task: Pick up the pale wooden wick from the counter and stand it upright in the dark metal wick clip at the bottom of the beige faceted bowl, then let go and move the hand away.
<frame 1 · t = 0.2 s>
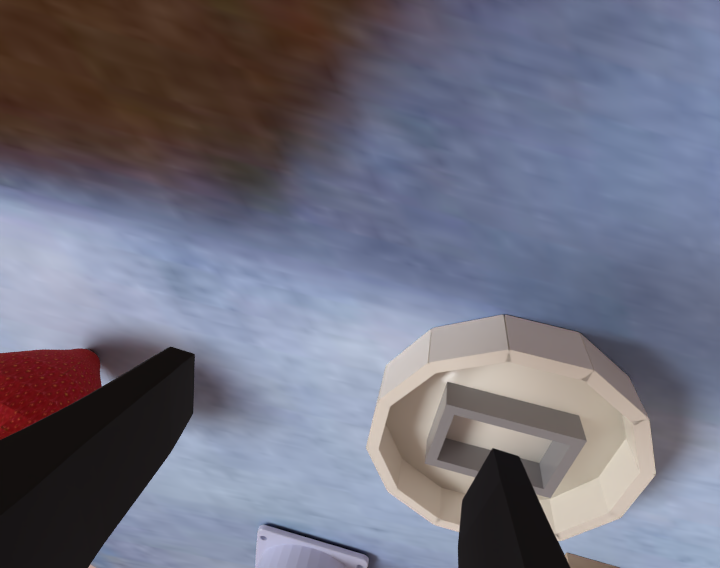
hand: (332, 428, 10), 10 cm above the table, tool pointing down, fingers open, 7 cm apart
beige faceted bowl: (497, 419, 22), on the table
strawberry: (93, 349, 26), on the table
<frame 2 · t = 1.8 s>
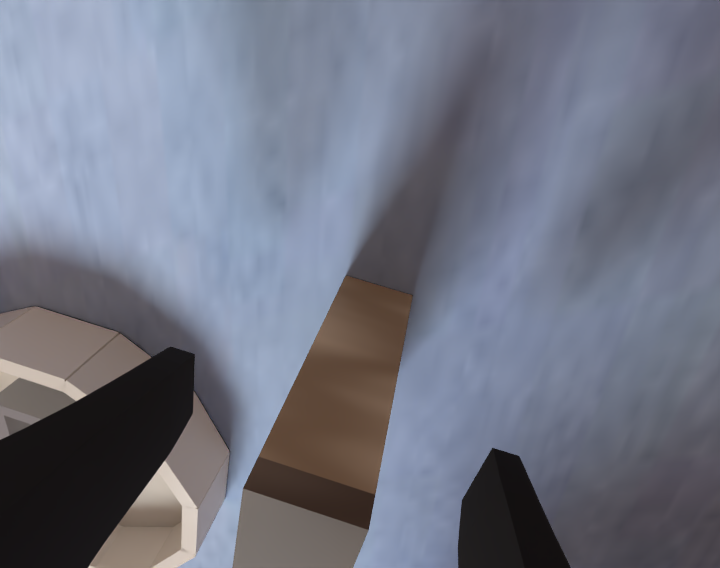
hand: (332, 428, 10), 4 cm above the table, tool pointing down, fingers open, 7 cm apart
wick: (363, 338, 14), on the table
beige faceted bowl: (93, 431, 19), on the table
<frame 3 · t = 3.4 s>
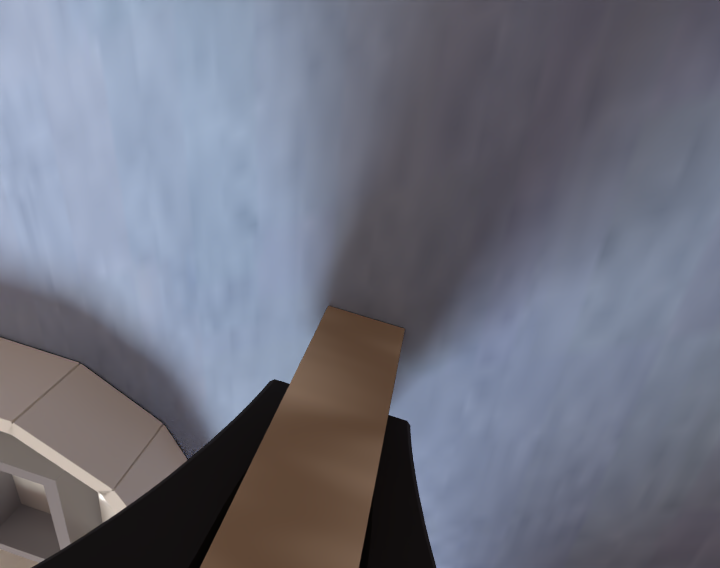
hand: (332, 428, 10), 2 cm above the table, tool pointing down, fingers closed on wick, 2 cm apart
wick: (350, 374, 12), on the table, touching gripper
beige faceted bowl: (59, 465, 17), on the table
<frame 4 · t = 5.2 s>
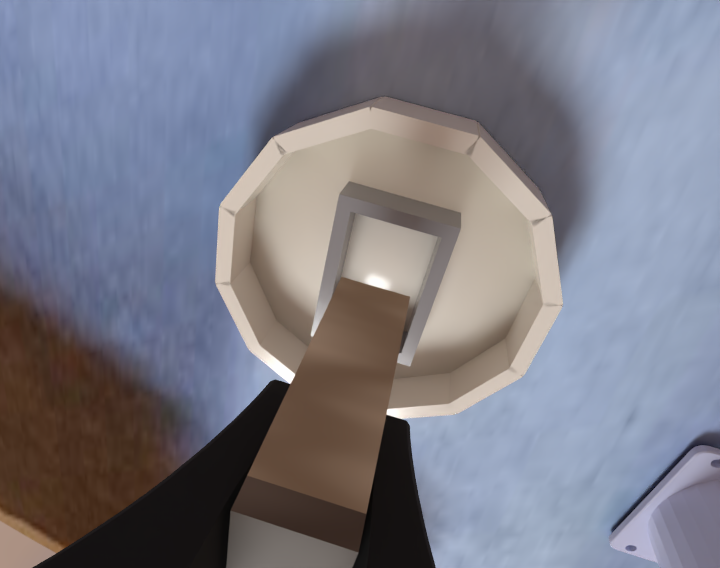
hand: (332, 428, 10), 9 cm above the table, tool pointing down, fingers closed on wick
wick: (361, 339, 14), point 5 cm above the table, touching gripper
beige faceted bowl: (386, 262, 18), on the table
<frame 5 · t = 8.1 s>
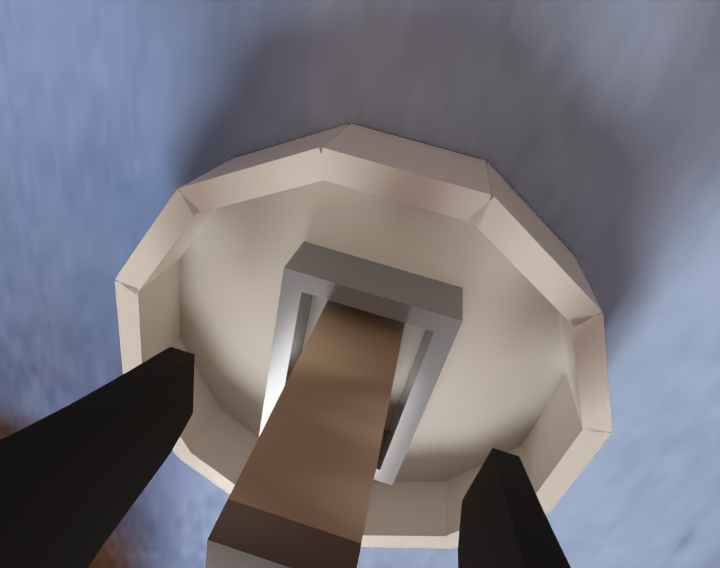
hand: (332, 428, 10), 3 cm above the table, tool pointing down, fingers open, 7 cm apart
wick: (356, 350, 13), point 1 cm above the table, touching beige faceted bowl
beige faceted bowl: (360, 342, 13), on the table
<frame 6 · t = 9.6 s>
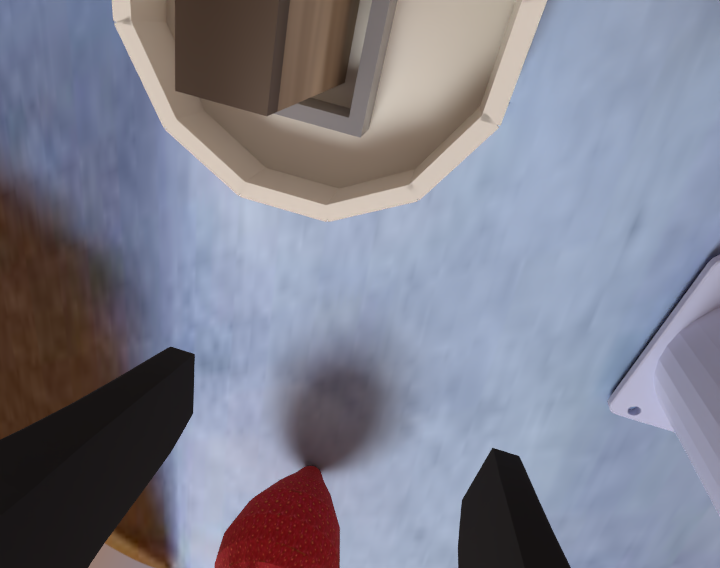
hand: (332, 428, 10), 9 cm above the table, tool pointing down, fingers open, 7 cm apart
wick: (327, 7, 14), point 1 cm above the table, touching beige faceted bowl
beige faceted bowl: (332, 13, 15), on the table
strawberry: (311, 465, 27), on the table
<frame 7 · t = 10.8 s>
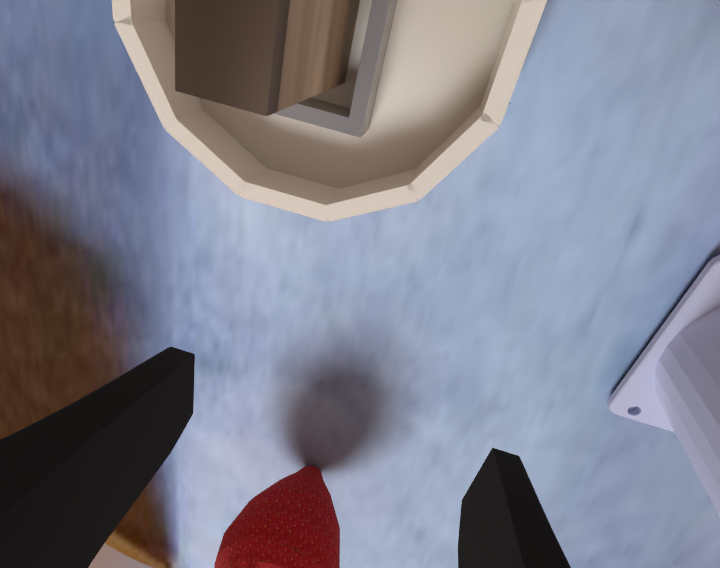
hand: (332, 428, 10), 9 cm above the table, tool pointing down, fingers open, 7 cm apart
wick: (327, 7, 14), point 1 cm above the table, touching beige faceted bowl
beige faceted bowl: (332, 13, 15), on the table
strawberry: (311, 465, 27), on the table
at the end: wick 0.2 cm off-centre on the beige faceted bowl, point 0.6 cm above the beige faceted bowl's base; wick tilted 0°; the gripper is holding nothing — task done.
